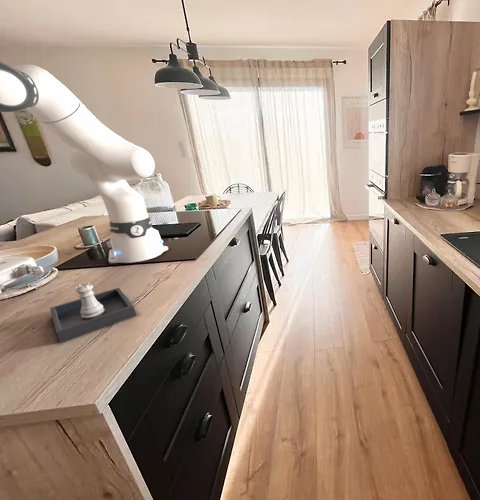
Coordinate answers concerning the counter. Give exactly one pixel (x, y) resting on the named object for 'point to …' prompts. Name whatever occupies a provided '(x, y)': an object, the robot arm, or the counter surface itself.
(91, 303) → the rook chess piece
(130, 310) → the tray
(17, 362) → the counter surface
